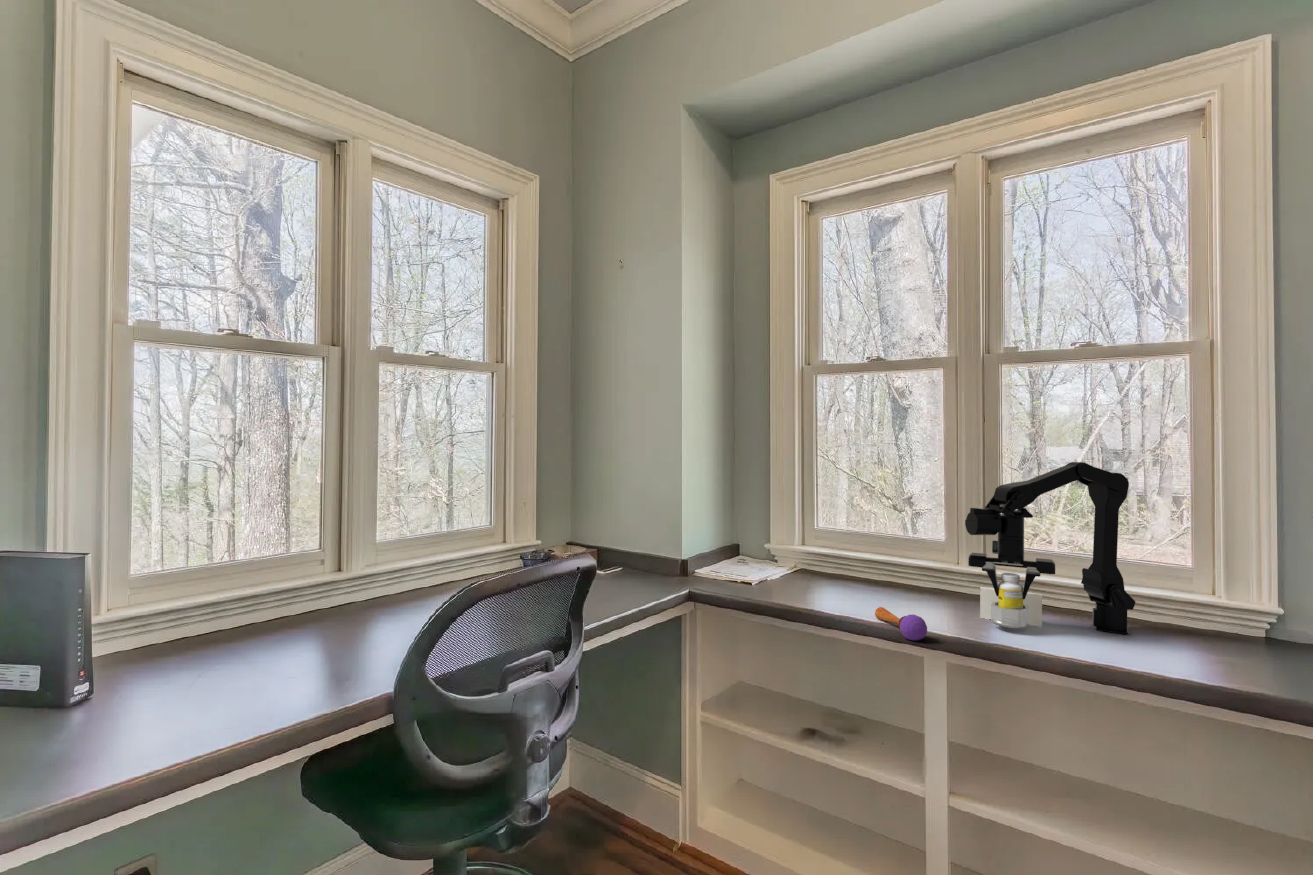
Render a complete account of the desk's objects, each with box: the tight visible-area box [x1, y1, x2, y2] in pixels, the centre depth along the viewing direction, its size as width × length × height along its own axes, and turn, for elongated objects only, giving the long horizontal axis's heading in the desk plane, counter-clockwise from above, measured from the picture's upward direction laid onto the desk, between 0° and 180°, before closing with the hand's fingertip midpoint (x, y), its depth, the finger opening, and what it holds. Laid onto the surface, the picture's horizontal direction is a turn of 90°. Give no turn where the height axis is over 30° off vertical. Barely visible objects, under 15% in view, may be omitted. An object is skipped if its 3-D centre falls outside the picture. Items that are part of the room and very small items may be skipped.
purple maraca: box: [874, 606, 928, 642], centre depth 154 cm, size 6×6×20 cm
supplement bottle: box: [998, 572, 1024, 609], centre depth 156 cm, size 5×5×10 cm
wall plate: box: [979, 586, 1043, 627], centre depth 163 cm, size 14×2×8 cm, turn 60°
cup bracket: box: [990, 601, 1030, 629], centre depth 157 cm, size 8×11×4 cm
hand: (1010, 597), depth 156 cm, fingers closed on supplement bottle, 5 cm apart
